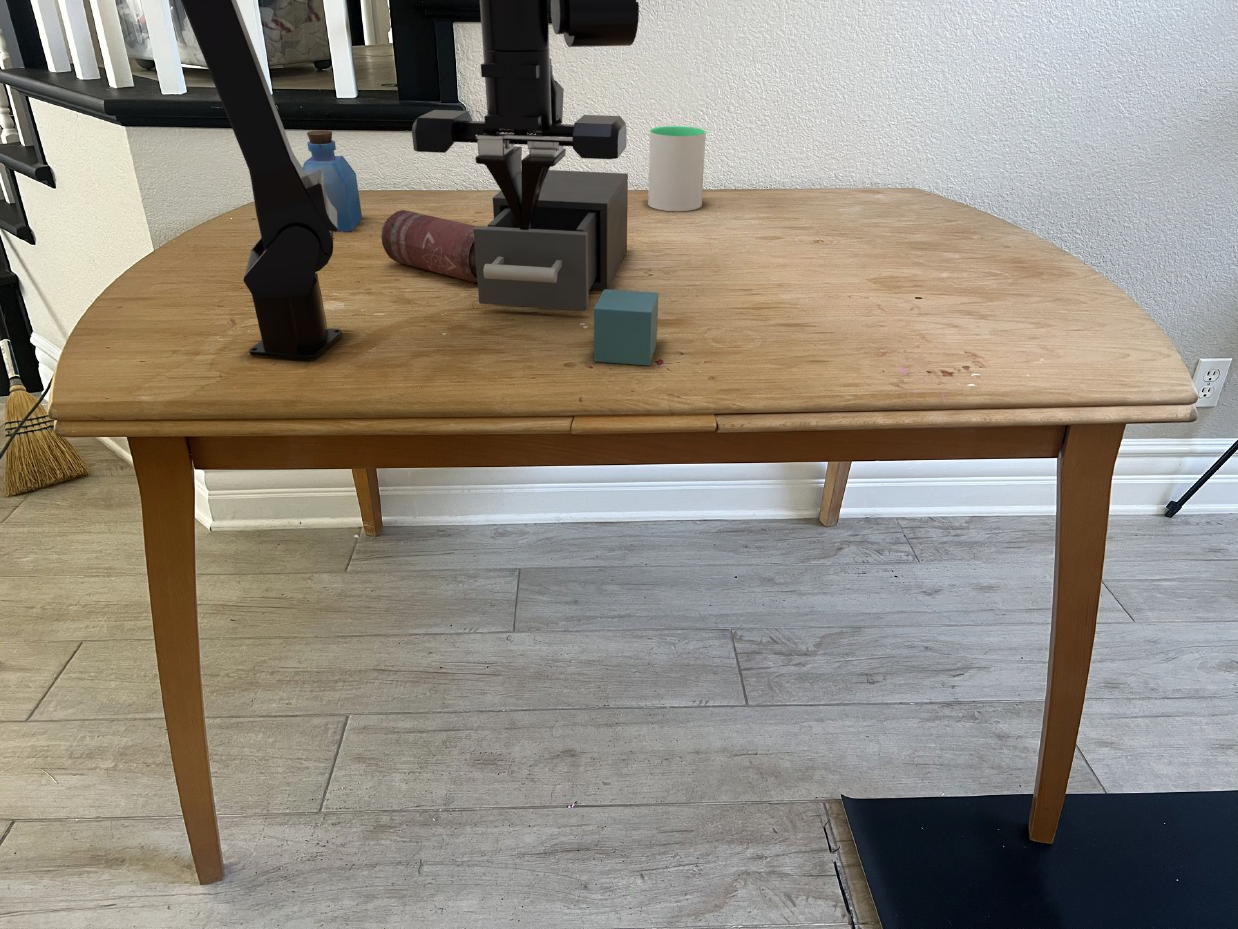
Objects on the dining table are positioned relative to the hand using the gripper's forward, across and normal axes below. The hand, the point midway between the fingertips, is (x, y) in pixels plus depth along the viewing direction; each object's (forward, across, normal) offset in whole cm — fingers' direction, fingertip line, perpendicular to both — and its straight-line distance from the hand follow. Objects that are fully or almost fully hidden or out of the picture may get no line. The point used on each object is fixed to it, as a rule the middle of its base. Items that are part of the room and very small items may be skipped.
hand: (525, 228), depth 82 cm
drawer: (+9, 0, -7) cm, 11 cm away
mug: (+10, -9, -52) cm, 54 cm away
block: (+10, -11, +6) cm, 15 cm away
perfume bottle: (+10, +35, -30) cm, 48 cm away
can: (+7, +20, -17) cm, 28 cm away
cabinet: (+10, 0, -18) cm, 21 cm away
